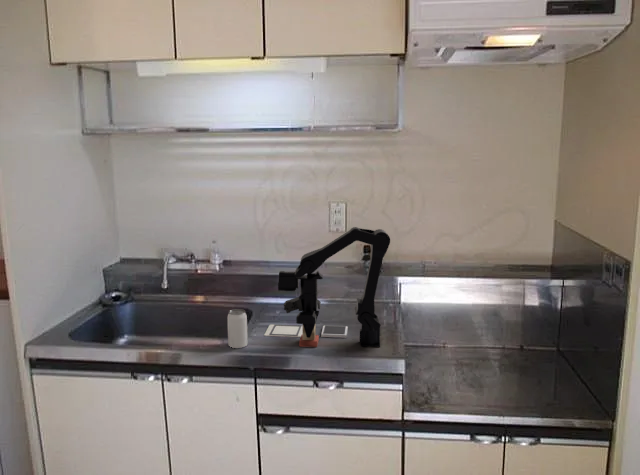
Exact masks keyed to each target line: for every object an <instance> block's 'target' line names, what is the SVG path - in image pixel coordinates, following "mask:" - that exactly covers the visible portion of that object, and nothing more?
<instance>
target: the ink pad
mask: <svg viewBox="0 0 640 475" xmlns="http://www.w3.org/2000/svg"><path fill="white" fill-rule="evenodd" d="M348 329H349V326H347V325H346V326H345V325H323V326H322V330H321V334H320V335H321V336H320V338H340V339H341V338H343V339H347V337H348Z"/></svg>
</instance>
